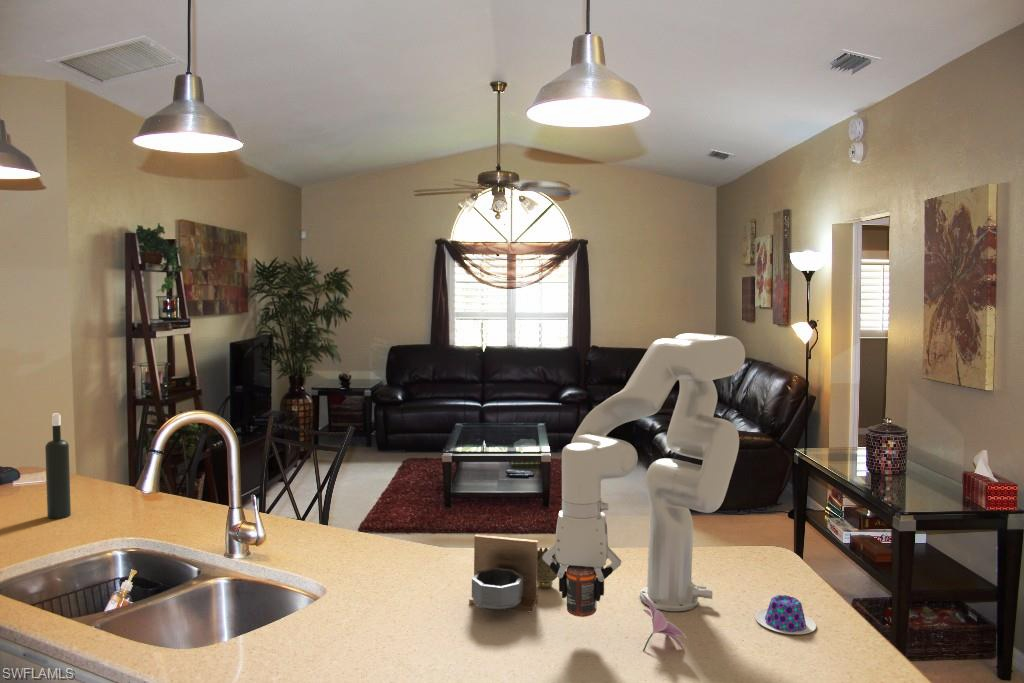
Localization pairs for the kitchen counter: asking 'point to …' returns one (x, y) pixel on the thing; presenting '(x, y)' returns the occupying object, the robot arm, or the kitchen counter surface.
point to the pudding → (785, 616)
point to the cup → (544, 571)
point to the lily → (662, 624)
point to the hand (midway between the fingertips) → (581, 595)
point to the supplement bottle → (581, 590)
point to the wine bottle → (57, 473)
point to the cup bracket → (504, 573)
